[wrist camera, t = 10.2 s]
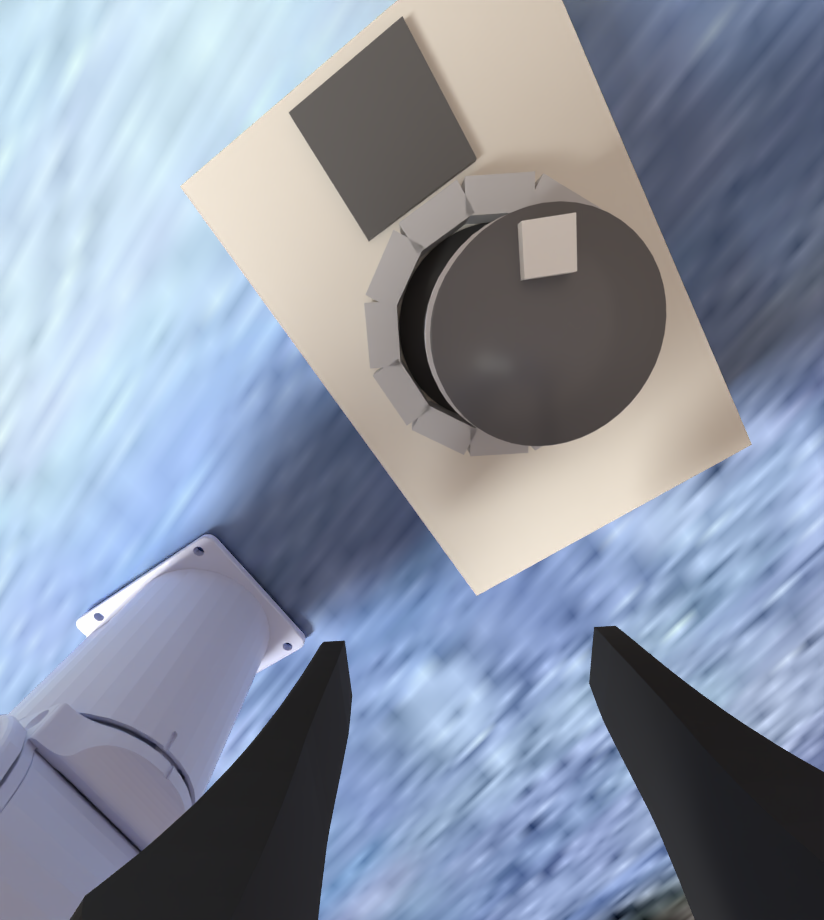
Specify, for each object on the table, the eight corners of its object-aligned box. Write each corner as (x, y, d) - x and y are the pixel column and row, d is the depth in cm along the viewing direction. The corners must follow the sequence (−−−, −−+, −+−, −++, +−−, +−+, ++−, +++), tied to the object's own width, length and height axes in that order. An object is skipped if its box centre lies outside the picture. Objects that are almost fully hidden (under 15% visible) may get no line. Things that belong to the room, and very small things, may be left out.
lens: (568, 391, 15) (673, 438, 9) (429, 411, 15) (442, 469, 9) (564, 237, 14) (688, 170, 8) (410, 261, 14) (410, 213, 8)
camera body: (464, 547, 22) (481, 614, 17) (231, 217, 17) (158, 173, 12) (685, 420, 20) (778, 453, 15) (490, 5, 15) (530, -153, 10)
